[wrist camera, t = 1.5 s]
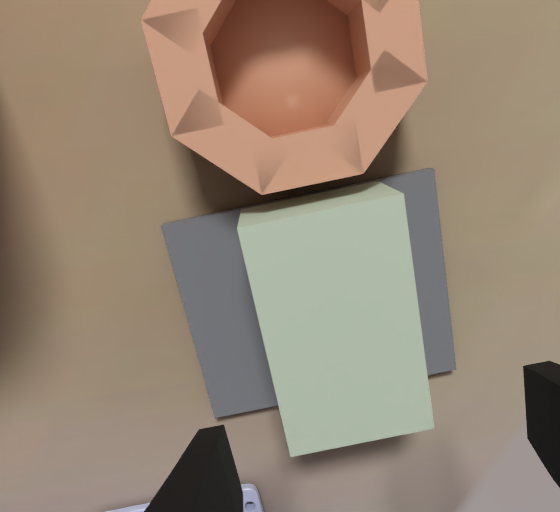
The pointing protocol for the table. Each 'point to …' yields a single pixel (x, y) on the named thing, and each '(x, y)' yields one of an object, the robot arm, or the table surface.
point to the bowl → (286, 82)
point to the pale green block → (339, 315)
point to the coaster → (241, 308)
